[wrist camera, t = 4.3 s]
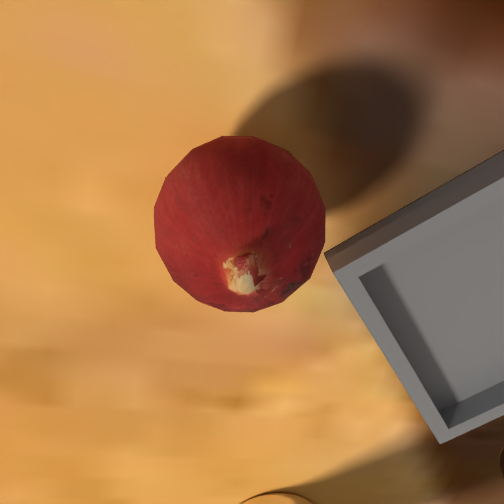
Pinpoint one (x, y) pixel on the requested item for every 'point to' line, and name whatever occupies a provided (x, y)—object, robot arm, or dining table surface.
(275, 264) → the onion
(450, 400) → the tray
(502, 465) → the robot arm
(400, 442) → the dining table surface
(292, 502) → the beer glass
